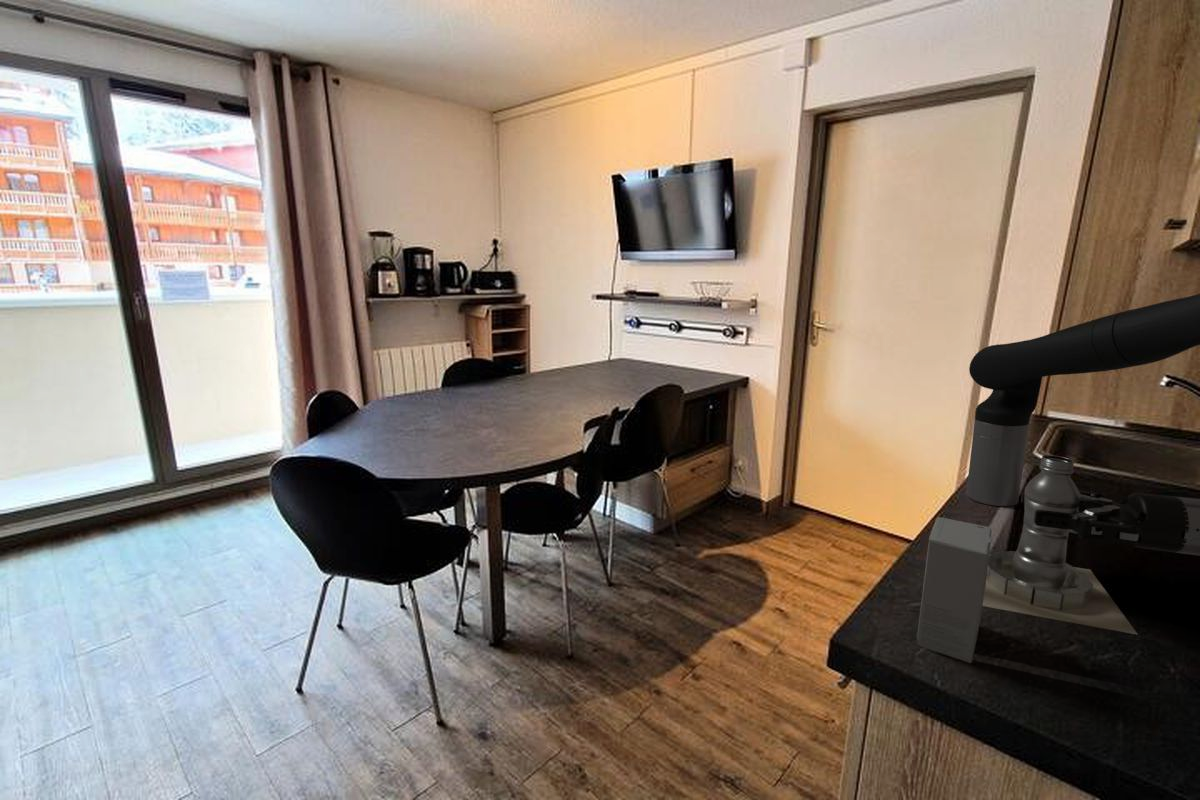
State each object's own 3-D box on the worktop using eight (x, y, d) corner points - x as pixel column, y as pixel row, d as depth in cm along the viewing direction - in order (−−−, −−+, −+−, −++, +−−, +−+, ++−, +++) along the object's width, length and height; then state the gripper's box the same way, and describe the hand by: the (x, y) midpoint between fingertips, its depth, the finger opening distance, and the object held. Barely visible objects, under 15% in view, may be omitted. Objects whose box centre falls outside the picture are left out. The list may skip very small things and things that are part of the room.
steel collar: (979, 559, 92) (980, 545, 92) (1073, 574, 87) (1075, 559, 86) (993, 598, 81) (995, 582, 81) (1102, 617, 76) (1105, 601, 75)
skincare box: (924, 616, 79) (935, 514, 76) (980, 632, 75) (994, 526, 72) (914, 647, 73) (925, 537, 69) (975, 667, 69) (989, 551, 65)
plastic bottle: (1043, 574, 87) (1064, 452, 83) (1075, 598, 81) (1100, 466, 77) (999, 572, 88) (1018, 451, 84) (1027, 596, 81) (1050, 465, 77)
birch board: (956, 554, 96) (956, 549, 96) (1089, 575, 88) (1090, 569, 88) (973, 610, 80) (973, 604, 80) (1136, 641, 72) (1138, 634, 72)
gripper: (1158, 481, 81) (1019, 468, 88) (1211, 519, 68) (1044, 500, 75) (1149, 528, 82) (1014, 512, 89) (1199, 575, 70) (1037, 551, 77)
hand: (1028, 507), depth 82 cm, fingers open, 7 cm apart
